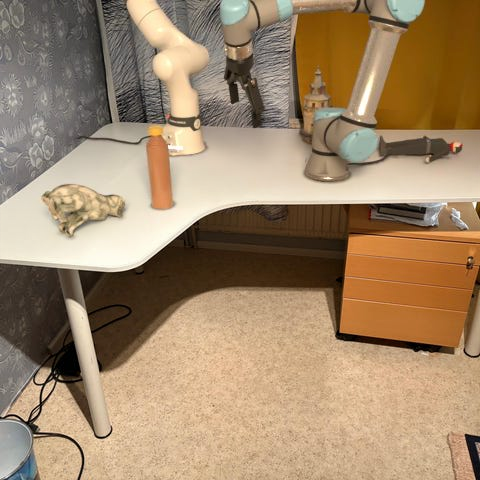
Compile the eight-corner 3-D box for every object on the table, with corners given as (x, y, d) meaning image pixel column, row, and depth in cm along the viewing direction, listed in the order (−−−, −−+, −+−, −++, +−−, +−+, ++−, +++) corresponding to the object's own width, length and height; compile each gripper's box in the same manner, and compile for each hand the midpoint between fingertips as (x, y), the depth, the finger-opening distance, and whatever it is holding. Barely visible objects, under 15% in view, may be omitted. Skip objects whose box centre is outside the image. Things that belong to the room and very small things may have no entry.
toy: (379, 128, 216) (458, 128, 210) (378, 143, 219) (456, 144, 213) (380, 150, 194) (469, 151, 187) (379, 166, 197) (466, 168, 190)
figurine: (85, 253, 150) (138, 211, 159) (47, 199, 141) (105, 158, 150) (72, 248, 157) (123, 208, 166) (34, 197, 148) (90, 157, 157)
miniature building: (320, 132, 228) (325, 59, 214) (338, 142, 217) (344, 66, 203) (293, 137, 224) (296, 63, 209) (310, 147, 213) (314, 69, 198)
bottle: (167, 198, 173) (160, 123, 161) (176, 205, 168) (170, 129, 156) (148, 203, 170) (140, 127, 158) (157, 211, 165) (149, 133, 153)
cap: (159, 130, 160) (158, 124, 159) (165, 134, 157) (164, 127, 156) (146, 133, 158) (145, 126, 157) (152, 136, 155) (151, 130, 154)
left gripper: (260, -24, 177) (260, 21, 184) (223, -20, 162) (224, 29, 169) (276, -23, 174) (275, 22, 180) (240, -19, 159) (241, 30, 166)
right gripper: (206, 37, 154) (216, 97, 171) (250, 81, 140) (256, 141, 157) (229, 28, 156) (236, 88, 172) (274, 70, 142) (277, 131, 159)
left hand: (250, 25), depth 175 cm, fingers open, 8 cm apart
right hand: (245, 114), depth 165 cm, fingers open, 13 cm apart
